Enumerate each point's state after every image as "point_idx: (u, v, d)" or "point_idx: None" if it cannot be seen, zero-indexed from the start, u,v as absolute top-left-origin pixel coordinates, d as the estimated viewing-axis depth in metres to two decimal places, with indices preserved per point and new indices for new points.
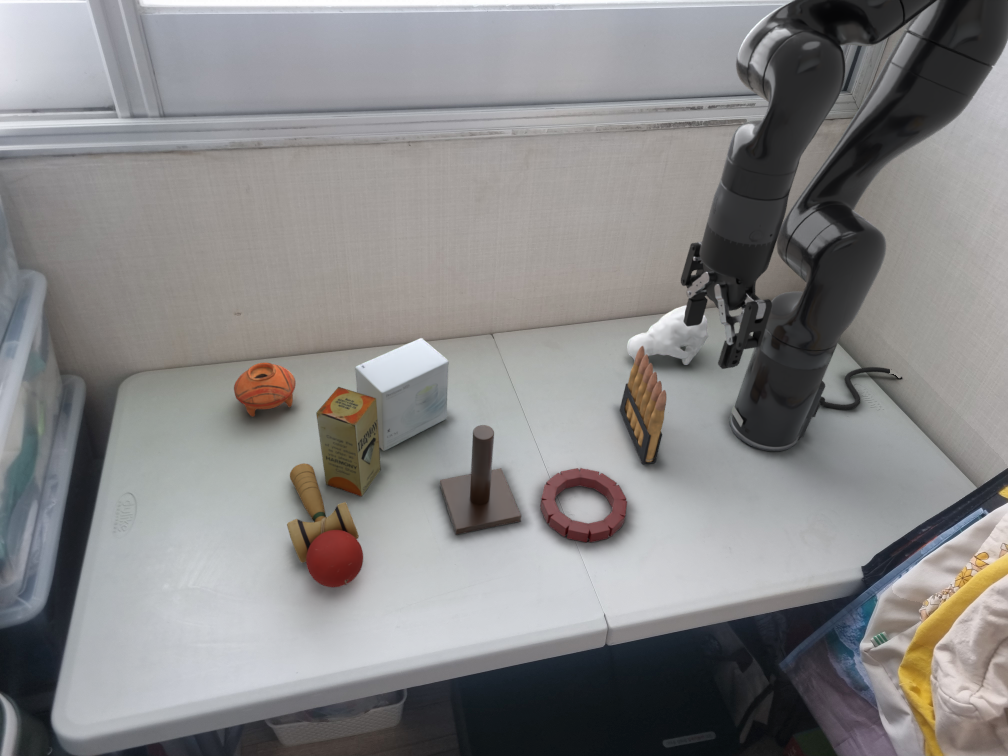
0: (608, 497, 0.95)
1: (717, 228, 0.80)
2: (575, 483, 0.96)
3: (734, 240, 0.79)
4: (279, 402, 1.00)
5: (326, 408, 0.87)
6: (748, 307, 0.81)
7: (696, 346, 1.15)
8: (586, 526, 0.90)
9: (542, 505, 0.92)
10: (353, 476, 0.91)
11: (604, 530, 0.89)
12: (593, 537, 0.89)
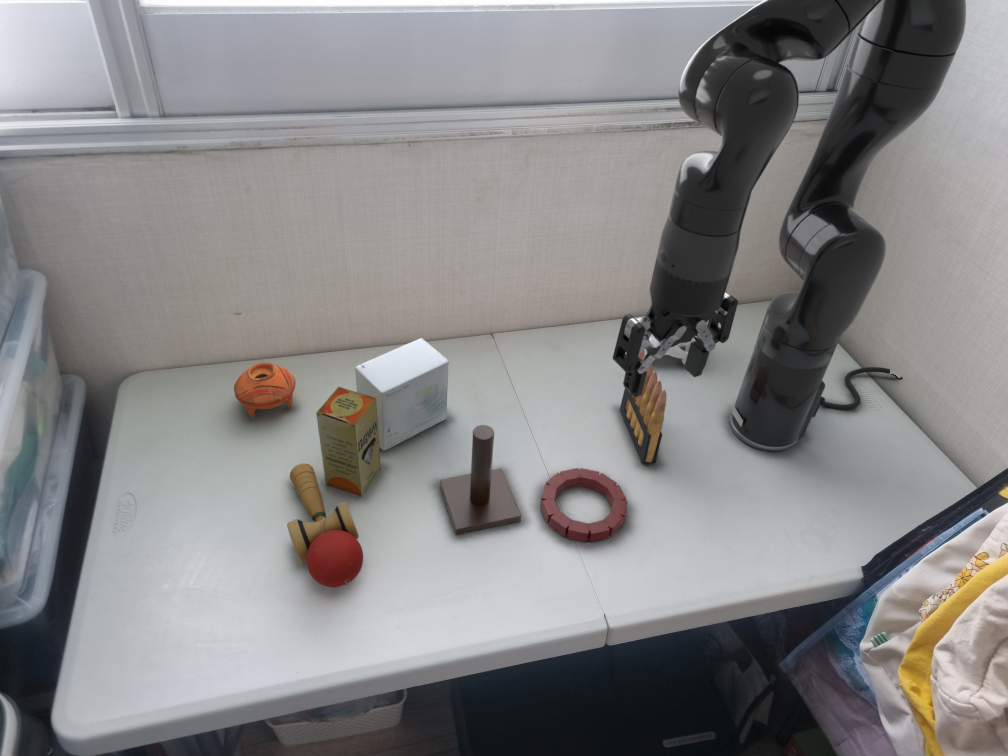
0: (608, 497, 0.95)
1: None
2: (575, 483, 0.96)
3: (657, 253, 0.78)
4: (279, 402, 1.00)
5: (326, 408, 0.87)
6: None
7: None
8: (586, 526, 0.90)
9: (542, 505, 0.92)
10: (353, 476, 0.91)
11: (604, 530, 0.89)
12: (593, 537, 0.89)
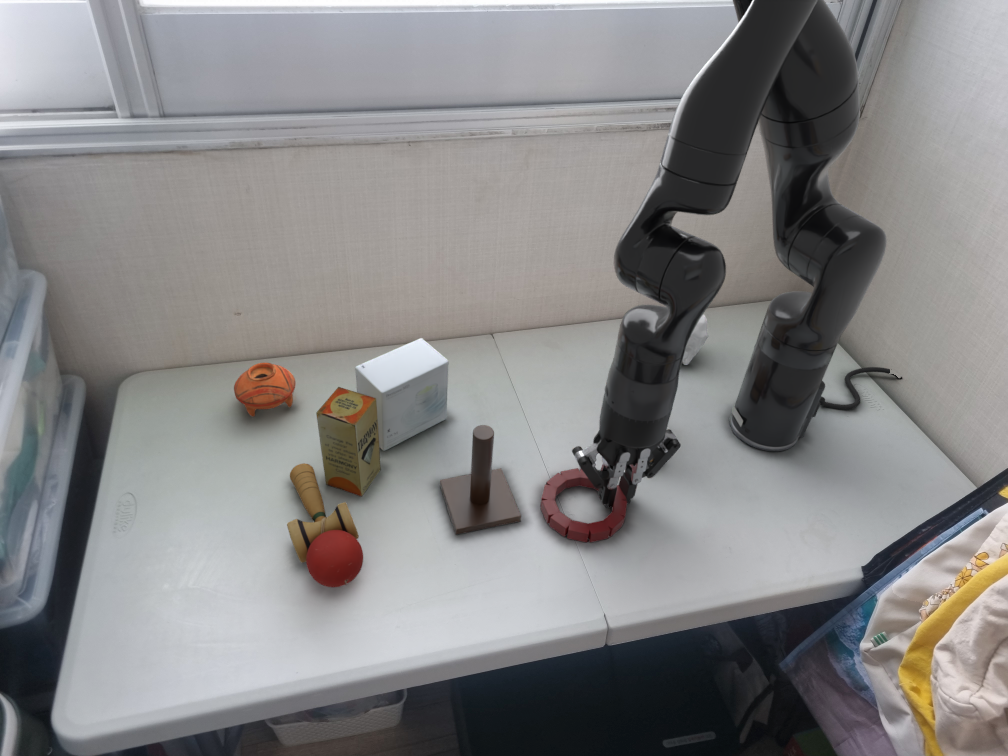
0: None
1: None
2: (575, 483, 0.96)
3: None
4: (279, 402, 1.00)
5: (326, 408, 0.87)
6: None
7: (696, 346, 1.15)
8: (586, 526, 0.90)
9: (542, 505, 0.92)
10: (353, 476, 0.91)
11: (604, 530, 0.89)
12: (593, 537, 0.89)
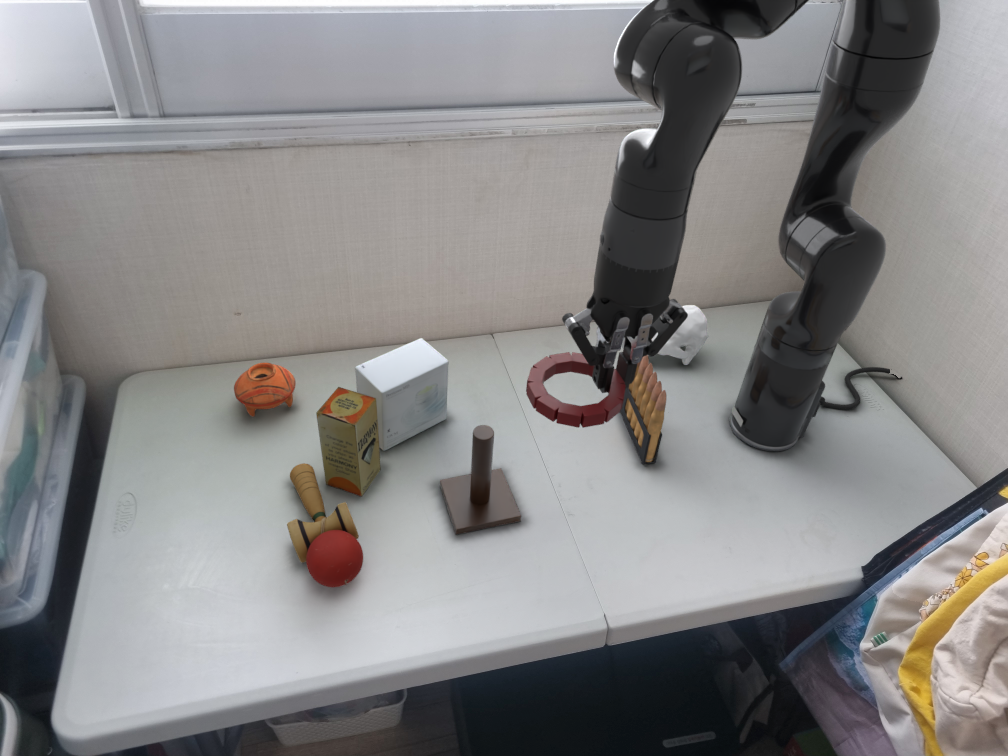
0: None
1: None
2: (566, 368, 0.84)
3: None
4: (279, 402, 1.00)
5: (326, 408, 0.87)
6: None
7: (696, 346, 1.15)
8: (578, 408, 0.77)
9: (528, 388, 0.80)
10: (353, 476, 0.91)
11: (599, 412, 0.77)
12: (587, 421, 0.77)
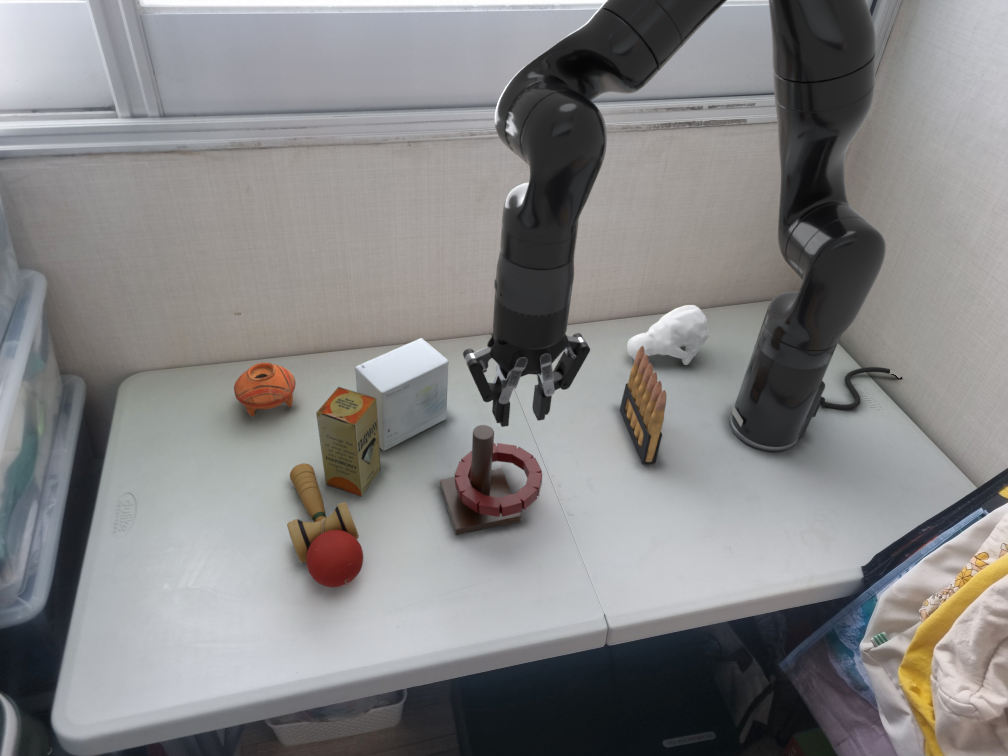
0: (525, 470, 0.93)
1: None
2: (492, 458, 0.94)
3: None
4: (279, 402, 1.00)
5: (326, 408, 0.87)
6: None
7: (696, 346, 1.15)
8: (497, 500, 0.88)
9: (455, 482, 0.91)
10: (353, 476, 0.91)
11: (515, 503, 0.88)
12: (505, 511, 0.88)
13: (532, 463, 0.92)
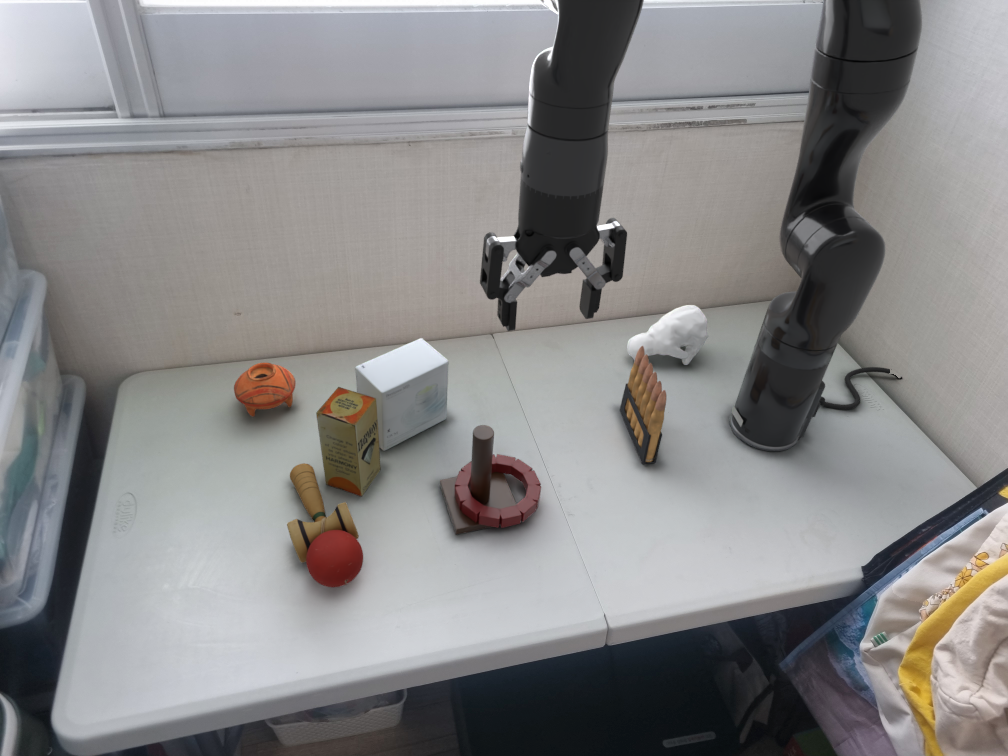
0: (523, 483, 0.94)
1: None
2: None
3: None
4: (279, 402, 1.00)
5: (326, 408, 0.87)
6: None
7: (696, 346, 1.15)
8: (497, 511, 0.89)
9: (455, 491, 0.92)
10: (353, 476, 0.91)
11: (515, 515, 0.89)
12: (504, 522, 0.89)
13: (531, 476, 0.94)
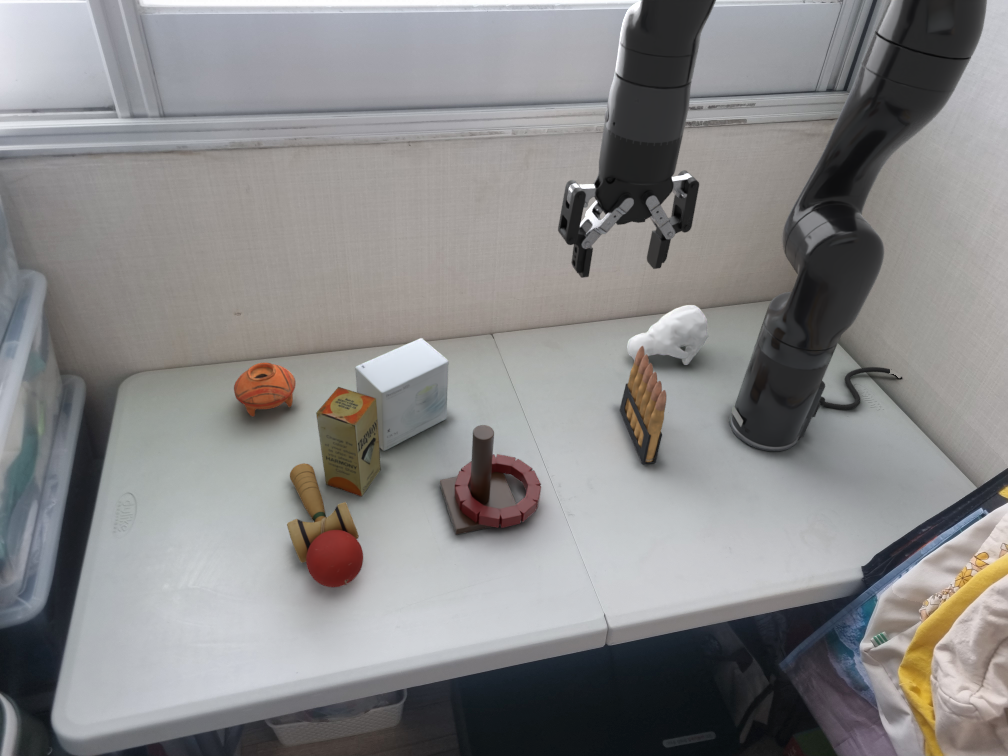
0: (523, 483, 0.94)
1: None
2: None
3: None
4: (279, 402, 1.00)
5: (326, 408, 0.87)
6: None
7: (696, 346, 1.15)
8: (497, 511, 0.89)
9: (455, 491, 0.92)
10: (353, 476, 0.91)
11: (515, 515, 0.89)
12: (504, 522, 0.89)
13: (531, 476, 0.94)
